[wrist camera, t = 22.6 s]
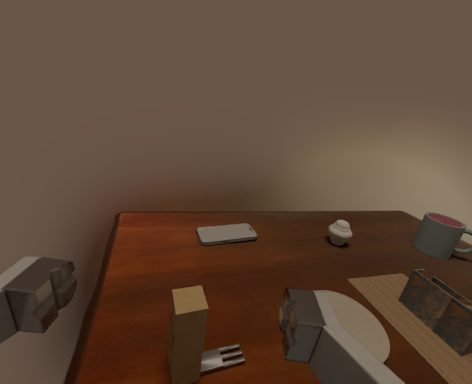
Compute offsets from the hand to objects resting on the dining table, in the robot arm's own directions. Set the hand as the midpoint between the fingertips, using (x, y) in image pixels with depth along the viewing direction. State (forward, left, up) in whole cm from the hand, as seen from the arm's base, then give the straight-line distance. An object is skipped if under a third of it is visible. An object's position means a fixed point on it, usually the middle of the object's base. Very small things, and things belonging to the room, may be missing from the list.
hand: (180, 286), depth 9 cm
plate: (+30, +12, -26) cm, 41 cm away
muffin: (+49, +34, -26) cm, 65 cm away
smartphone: (+19, +42, -26) cm, 53 cm away
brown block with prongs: (+7, +12, -26) cm, 29 cm away
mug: (+79, +24, -26) cm, 87 cm away
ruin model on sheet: (+48, +8, -26) cm, 55 cm away
